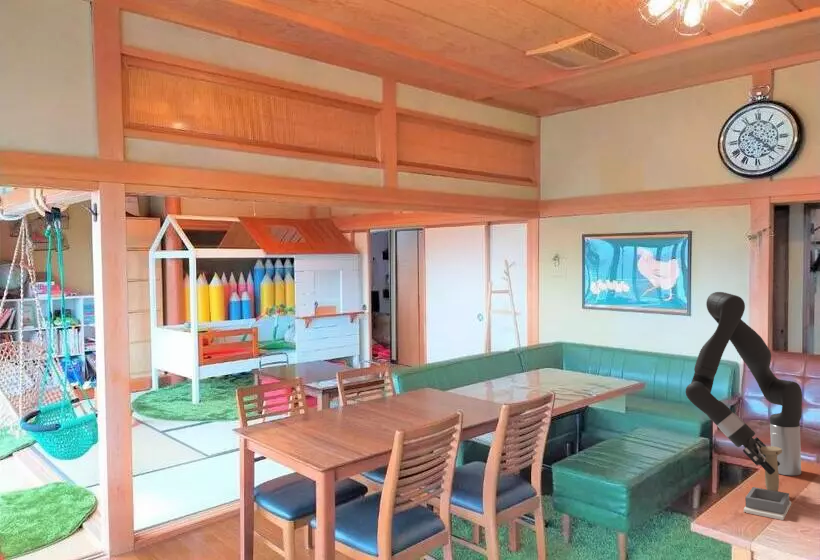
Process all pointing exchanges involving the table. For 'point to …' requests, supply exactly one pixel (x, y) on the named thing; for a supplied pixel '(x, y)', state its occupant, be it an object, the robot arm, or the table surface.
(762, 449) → the handle
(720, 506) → the table surface
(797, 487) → the table surface
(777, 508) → the holder
